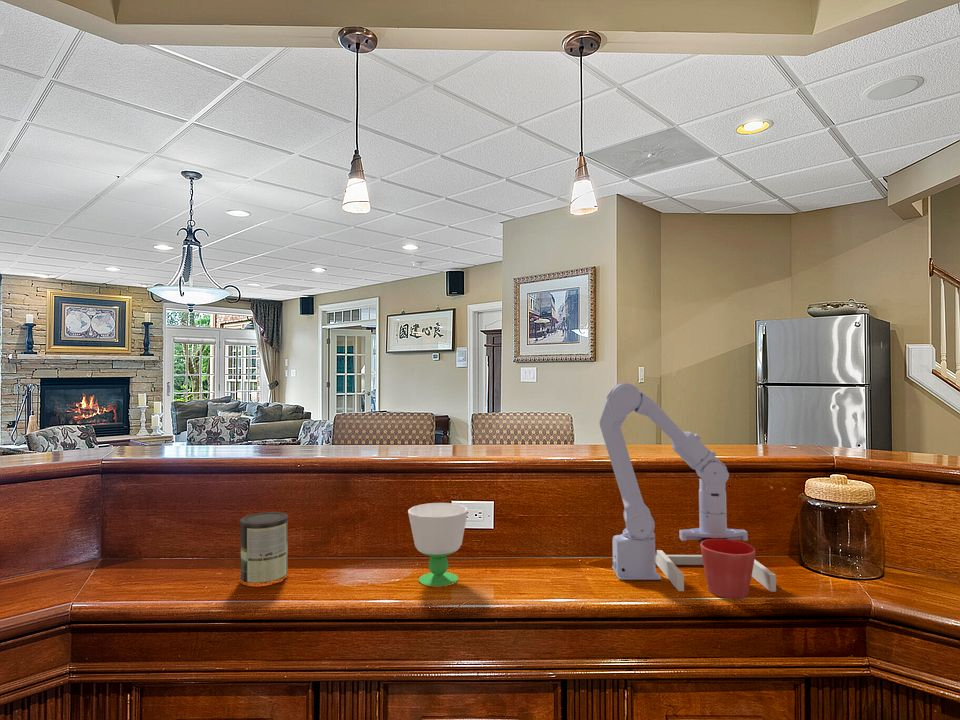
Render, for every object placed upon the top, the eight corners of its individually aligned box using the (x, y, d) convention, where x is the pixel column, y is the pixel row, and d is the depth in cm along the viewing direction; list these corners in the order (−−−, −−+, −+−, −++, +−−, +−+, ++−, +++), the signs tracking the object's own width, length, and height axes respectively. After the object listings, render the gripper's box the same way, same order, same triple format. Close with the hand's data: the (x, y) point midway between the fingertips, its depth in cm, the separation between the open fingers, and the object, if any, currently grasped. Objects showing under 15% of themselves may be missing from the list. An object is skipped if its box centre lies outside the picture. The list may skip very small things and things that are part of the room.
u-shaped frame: (678, 591, 120) (678, 574, 120) (655, 563, 138) (655, 548, 138) (776, 591, 119) (775, 574, 120) (740, 563, 137) (740, 548, 137)
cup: (403, 573, 133) (402, 505, 133) (459, 566, 137) (458, 500, 137) (414, 595, 120) (414, 519, 120) (476, 586, 124) (475, 514, 124)
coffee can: (229, 583, 127) (229, 520, 127) (265, 568, 136) (265, 510, 137) (263, 590, 123) (263, 525, 123) (297, 575, 132) (297, 514, 132)
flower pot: (747, 583, 124) (746, 538, 124) (763, 603, 113) (762, 555, 113) (696, 580, 126) (695, 536, 126) (707, 601, 115) (706, 553, 115)
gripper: (737, 506, 131) (739, 565, 131) (674, 507, 132) (675, 565, 132) (751, 514, 124) (752, 576, 124) (684, 514, 125) (685, 576, 125)
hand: (714, 571), depth 127 cm, fingers closed
